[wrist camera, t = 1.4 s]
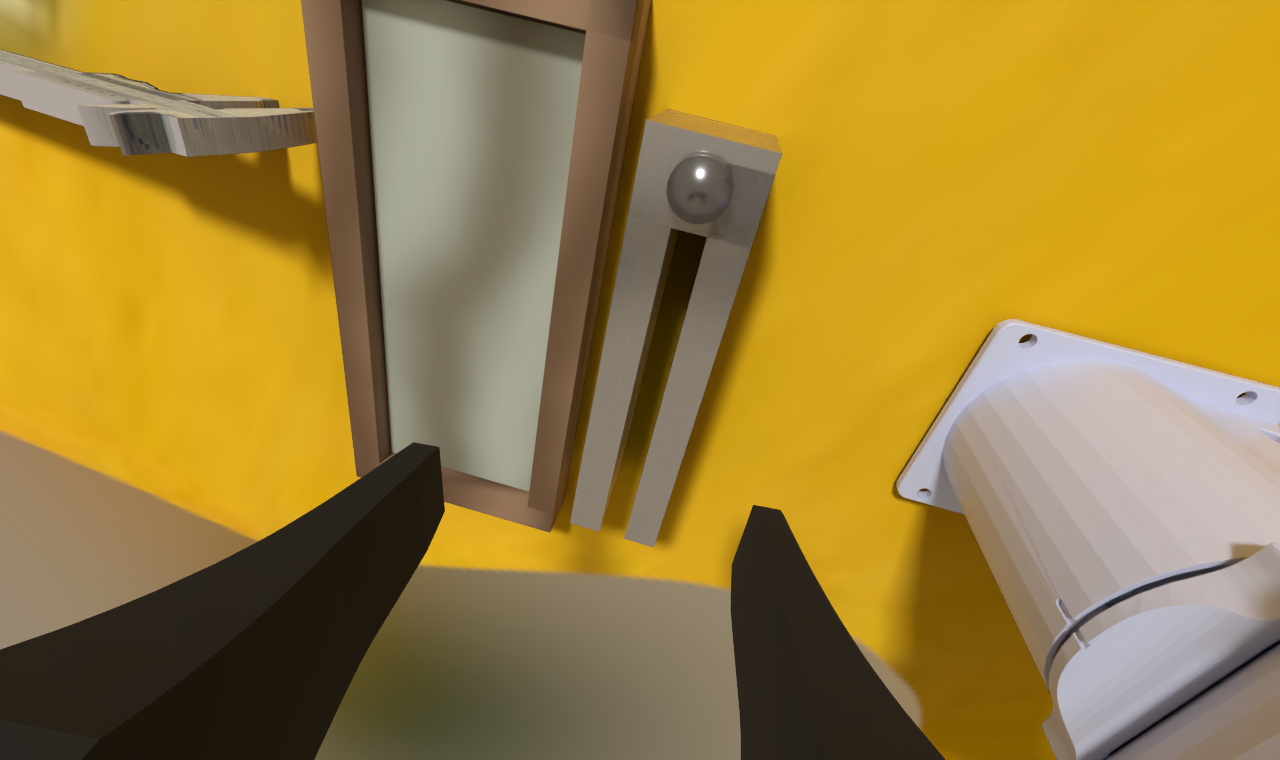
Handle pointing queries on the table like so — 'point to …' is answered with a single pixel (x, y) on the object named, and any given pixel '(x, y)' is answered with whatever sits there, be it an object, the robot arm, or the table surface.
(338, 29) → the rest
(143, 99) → the caliper
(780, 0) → the table surface
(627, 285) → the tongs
